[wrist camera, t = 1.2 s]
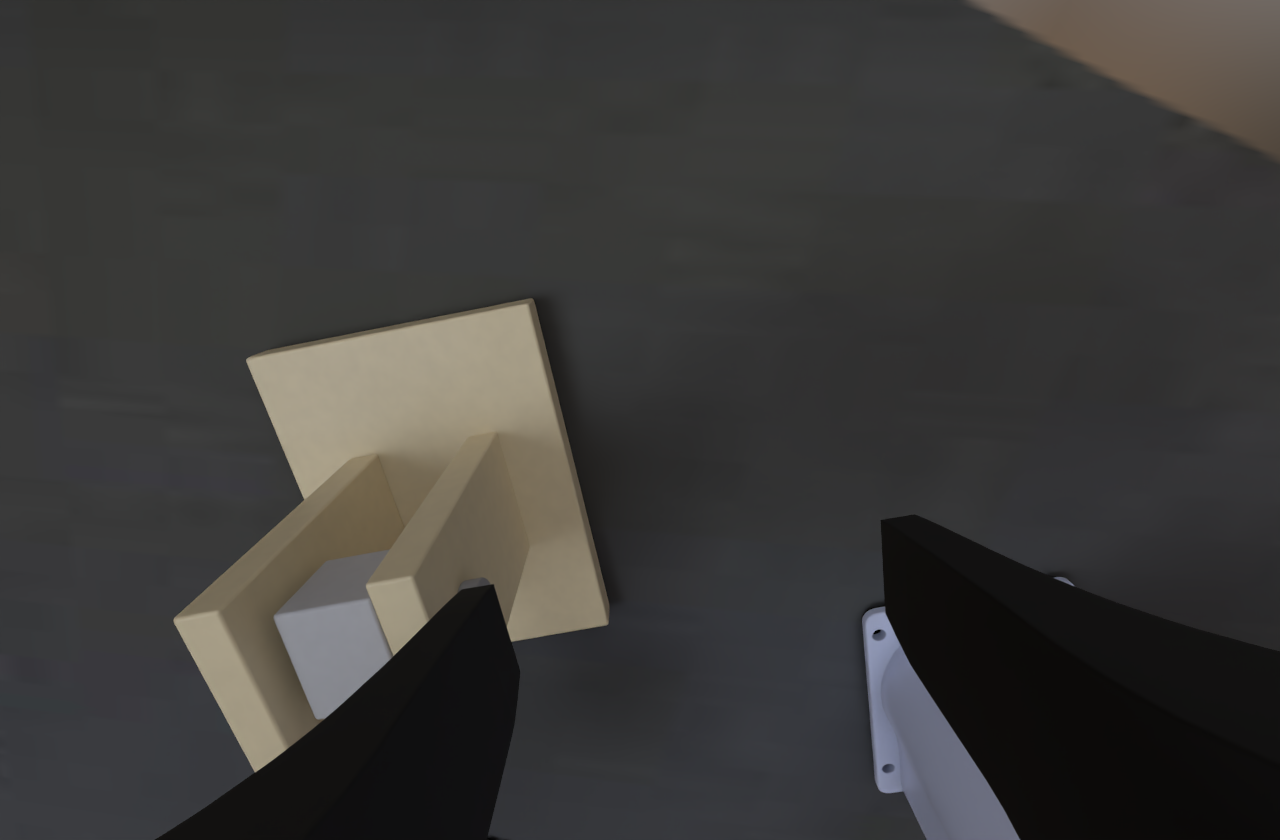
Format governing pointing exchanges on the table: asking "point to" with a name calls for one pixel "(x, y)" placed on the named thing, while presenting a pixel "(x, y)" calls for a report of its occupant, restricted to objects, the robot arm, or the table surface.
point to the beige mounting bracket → (404, 501)
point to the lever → (334, 632)
